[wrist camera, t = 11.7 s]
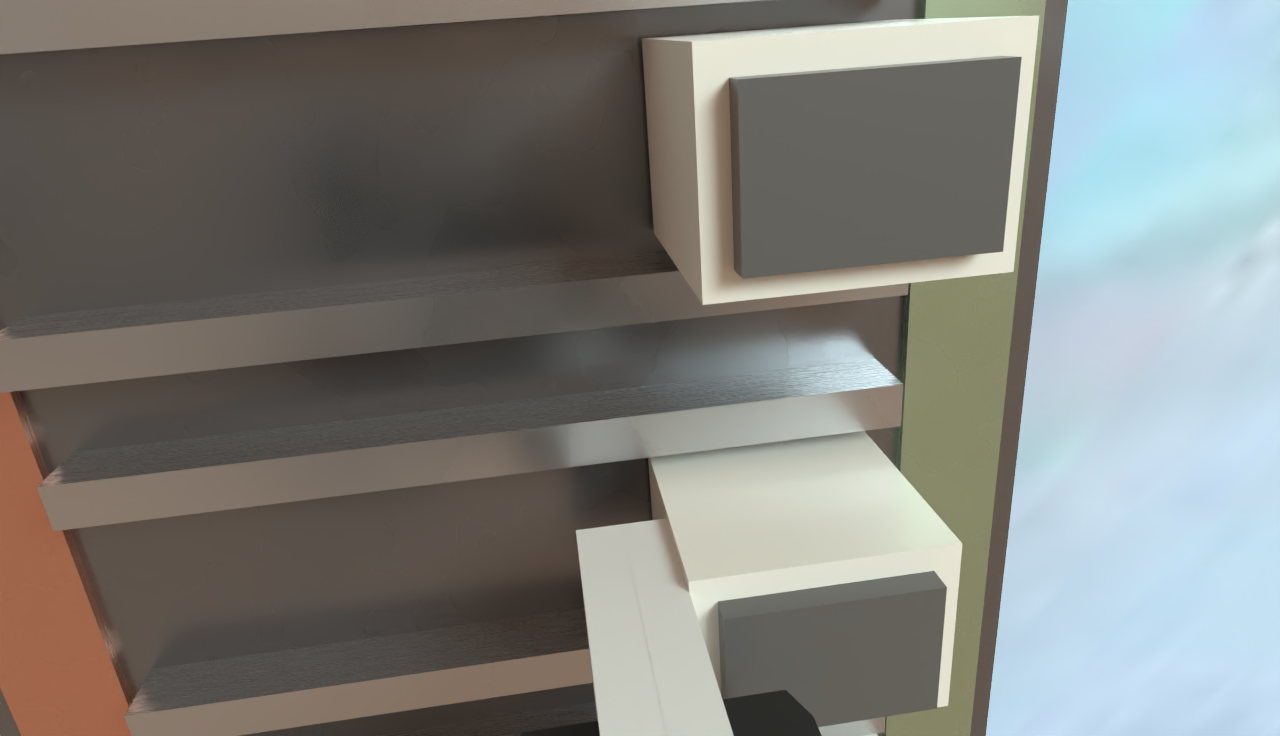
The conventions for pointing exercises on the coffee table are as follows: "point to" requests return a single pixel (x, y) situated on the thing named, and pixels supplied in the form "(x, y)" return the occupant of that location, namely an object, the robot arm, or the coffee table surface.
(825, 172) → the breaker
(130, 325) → the panel
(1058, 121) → the coffee table surface
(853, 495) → the block
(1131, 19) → the coffee table surface
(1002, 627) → the coffee table surface
